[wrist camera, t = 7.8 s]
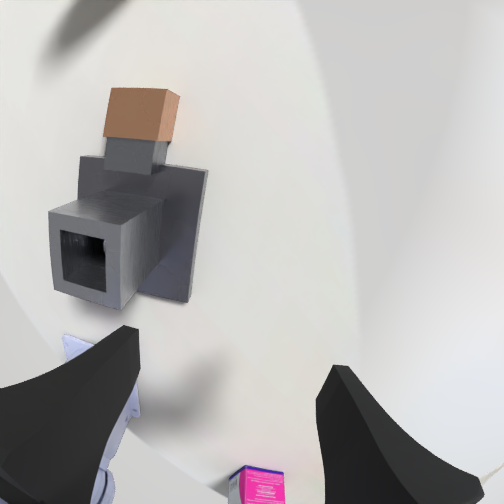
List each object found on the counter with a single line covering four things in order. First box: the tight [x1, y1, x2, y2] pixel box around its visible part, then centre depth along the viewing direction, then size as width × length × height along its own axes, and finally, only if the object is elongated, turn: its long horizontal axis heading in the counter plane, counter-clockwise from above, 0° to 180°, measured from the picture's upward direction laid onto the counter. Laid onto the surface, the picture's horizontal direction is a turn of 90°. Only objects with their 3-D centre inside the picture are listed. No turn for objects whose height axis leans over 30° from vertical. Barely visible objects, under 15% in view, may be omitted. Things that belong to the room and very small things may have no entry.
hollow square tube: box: [48, 190, 164, 310], centre depth 15 cm, size 4×4×6 cm
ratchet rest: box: [78, 88, 208, 303], centre depth 17 cm, size 14×9×4 cm, turn 169°
